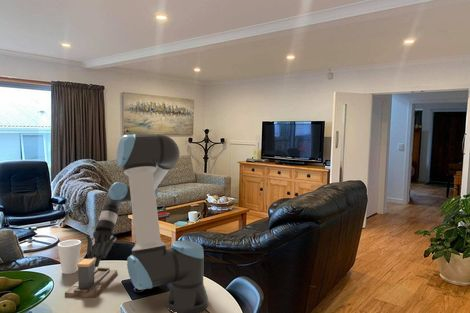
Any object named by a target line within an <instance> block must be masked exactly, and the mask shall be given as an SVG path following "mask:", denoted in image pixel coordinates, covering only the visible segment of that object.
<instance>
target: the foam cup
mask: <svg viewBox="0 0 470 313" xmlns="http://www.w3.org/2000/svg"><path fill="white" fill-rule="evenodd" d="M81 248H82V241H81V240H80V239H67V240H63V241H60V242H58V243H57V252H58V257H59V261H60V262H59V263H60V267H61V273H62V274H64V275H70V274H74V273H76V271H77V270H78V267H77V264H78V263H79V262H80V257H81V256H80V254H81ZM77 272H78V271H77Z"/></svg>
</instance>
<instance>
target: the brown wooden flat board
mask: <svg viewBox="0 0 470 313" xmlns="http://www.w3.org/2000/svg"><path fill="white" fill-rule="evenodd" d="M117 274H118V270H116V269H110V267H100V266H98V267H96V269H95V272H94V284H93V285H92V286H91V287H90V288H89V289H79V280H77V281H76V282H75V283H74V284H73V285H71V287H69V288H68V289H67V290H66V291H64V297H73V298H96V297H97V296H98V295H99V294H100V293H101V292H102V291H103V290H104V289H105V288H106V287H107V285H108V284H110V282H111V281H112V280H113V279H114V277H116V275H117Z"/></svg>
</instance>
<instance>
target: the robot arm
mask: <svg viewBox="0 0 470 313" xmlns="http://www.w3.org/2000/svg"><path fill="white" fill-rule="evenodd" d="M180 152H181V151H180V148H179V146H178V143H177V142H176V141H175V140H174V139H173V138H171V137H170V136H168V135H165V134H142V133H141V134H136V133H133V134H124V135H123V136H122V137H120V139H119V141H118V145H117V150H116V162H117V166H118V167H119V168H122V169H123V173H124V175H126V176H127V177H128V182H129V185H128V184H127V185H126V184H125V183H123V182H121V181H116V182H114V183H113V184H111V186H110V187H109V189H108V191H107V195H106V197H105V198H104V203H103V206H102V209H101V212H100V215H99V218H98V222H97V224H96V226H95V231H93V233H92V234H91V235H87V236H86V239H87V245H86V246H87V247H86V248H87V249H86V256H87V257H88V258H87V259H95V262H94V272H95V270H97V268H98V267H100V266H99V265H100V262H101V260H103V259H104V260H105V259H106V258H107V256H108V254H109V252H110V250H111V249H112V247H113V245H114V244H115V243H116V242H117V241H118V239H117V237H116V236H115V235H114V234H113V232H114V229H115V226H116V223H117V220H118V217H119V213H120V209H121V207H122V205H123V203H129V202H131V211H132V214H131V215H132V223H133V232H134V242H135V245H134V246H133V247H132V249H131V254H130V255H129V256H127V259H126V261H127V262H126V267H127V272H128V276H129V278H130V282H131V281H132V283H133V285H134V286H133V287H134V288H135V289H137V290H138V291H139V290H146V289H153V288H155V287H159V286H162V285H167V284H171V286H170V289H169V292H168V294H167V298H166V307H167V306H168V308H169V309H170V310H172V311H173V312H177V313H197V312H199V313H201V312H202V310H203V311H204V310H206V308H207V307H208V305H209V298H208V294H207V291H206V287H205V284H204V266H205V264H204V258H205V255H204V247H203V246H202V244H200V243H198V242H195V241H191V240H176V241H172V243H171V245H170V248H167V245H166V243H165V242H164V241H162V239H161V232H160V224H159V222H160V221H159V214H158V207H157V206H158V204H157V197H158V195H159V191H158V190H159V189H158V186H159V185H160V184H161V183H162V181H163V179H164V178H165V176H166V175H167V174H168V173H169V171H170V170H173V169H174V168H175V167H176V165H177V164H178V162H179V159H180V156H181V155H180ZM93 241H94V243H93ZM168 308H167V309H168ZM200 311H201V312H200Z"/></svg>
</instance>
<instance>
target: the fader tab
mask: <svg viewBox="0 0 470 313" xmlns="http://www.w3.org/2000/svg"><path fill="white" fill-rule="evenodd" d="M94 262H95V259H90V258H83V259H82V260H79V263H78V264H77V267H78V271H77V273H78V280H79V289H89V288H90V287H91V286H92V285H93V284H94ZM78 280H77V281H78Z"/></svg>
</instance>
